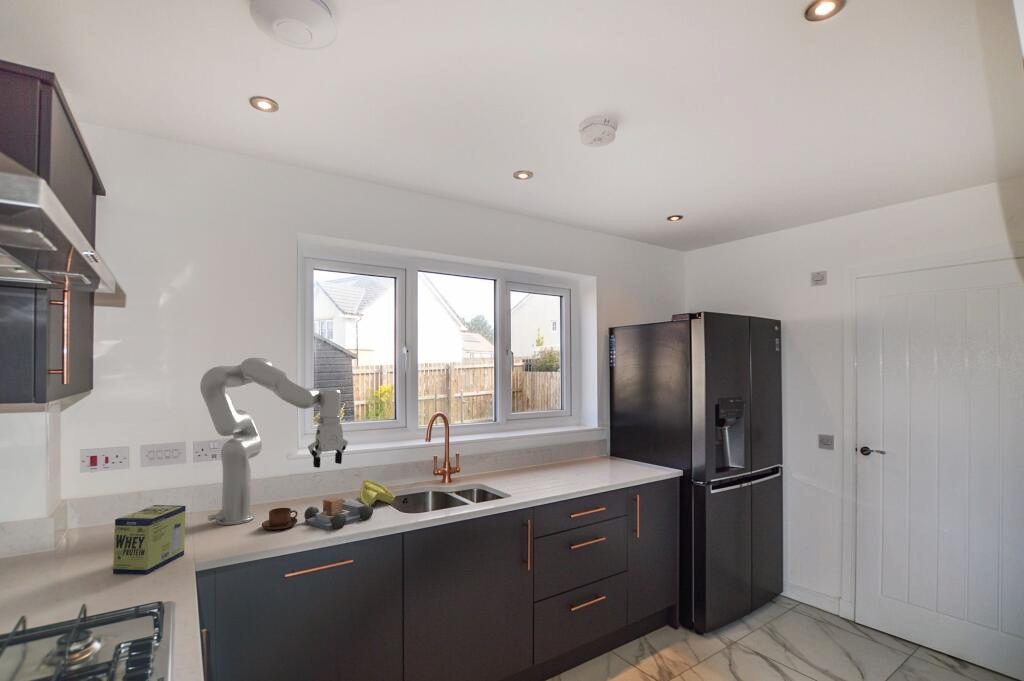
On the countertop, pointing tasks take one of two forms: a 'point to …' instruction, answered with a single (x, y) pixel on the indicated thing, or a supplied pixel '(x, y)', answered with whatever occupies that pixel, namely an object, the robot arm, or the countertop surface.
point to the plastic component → (374, 493)
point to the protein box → (148, 539)
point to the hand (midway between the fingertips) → (327, 465)
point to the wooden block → (332, 506)
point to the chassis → (338, 515)
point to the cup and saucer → (280, 519)
